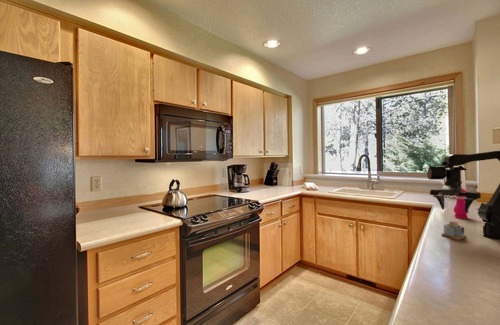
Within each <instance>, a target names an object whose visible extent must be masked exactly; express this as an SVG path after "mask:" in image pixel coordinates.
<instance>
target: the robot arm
mask: <svg viewBox="0 0 500 325" xmlns="http://www.w3.org/2000/svg"><path fill="white" fill-rule="evenodd" d="M488 160H489V161H490V160H498V162H500V149H496V150H491V151H484V152H483V151H482V152H476V153H468V154H467V153H466V154H465V153H464V154H462V153H461V154H459V153H458V154H457V153H456V154H451V153H450V154H447V155H445V156H444V158H443V161H442V162H441V163H440V165H439V166H434V165H429V166H428V169H427V172H426V176H427V179H428V180H439V181H440V180H444V179H445V181H444V185H443V186H442V187H441V188H433V189H430V190H429V195H430V196H432V197H433V198H436V199H437V202H438V203H439V206H440V208H441V210H442V211H443V210H445V196H449V197H456V196H465V197H466V199H465V213H466V212H467V211H468V212H469V209H470V207H471V205H472V204H473V202H474V201H475V200H478V199H481V196H482V194H481V193H480V191H467V192H466V193H464V192H462V190H461V186H462V184H463V181H462V171H467V168H465V167H464V166H463V165H466V164H468V163H473V162H480V161H488ZM476 210H477V215H478V217H479V218H480V219H481V220H482V222H483V223H484V225H482V234H483V235H482V236H483V237H485V238H490V239H495V240H499V241H500V183H498V186H497V187H496V188H495V190H494V192H493V194H492V196H491V197H490V200H489V201H488V202H486V203H484V202H481V203H480V205H479V207H478V208H477V209H476Z"/></svg>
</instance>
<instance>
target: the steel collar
mask: <svg viewBox="0 0 500 325" xmlns="http://www.w3.org/2000/svg"><path fill="white" fill-rule="evenodd" d="M443 233H445V234H446V235H451V236H458V237H462V236H464V235H465V227H464V226H462V225H459V224H458V227H450V226H449V223H445V224H443Z"/></svg>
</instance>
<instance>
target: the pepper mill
mask: <svg viewBox="0 0 500 325" xmlns="http://www.w3.org/2000/svg"><path fill="white" fill-rule="evenodd" d="M461 190H462V192H464V193H466V192H468V190H466V189H463V186H462V185H461ZM455 199H456V203H455V205H454V207H453V212H454V218H456V219H463V220H464V219H468V218H469V216H468V214H469V210H468V211H467V212H466V213H465V199H466V197H465V196H455Z"/></svg>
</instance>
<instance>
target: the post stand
mask: <svg viewBox="0 0 500 325" xmlns="http://www.w3.org/2000/svg"><path fill="white" fill-rule="evenodd" d="M448 224H449V226H450V227H458V225H459V223H458V221H455V220H454V221H453V220H449V223H448ZM441 237H445V238H449V239H454V240H457V241H460V240H463V239H465V238H467V235H466V234H464V236H462V237H458V236H451V235H446V234H445V233H444V232H443V233H441Z"/></svg>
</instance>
